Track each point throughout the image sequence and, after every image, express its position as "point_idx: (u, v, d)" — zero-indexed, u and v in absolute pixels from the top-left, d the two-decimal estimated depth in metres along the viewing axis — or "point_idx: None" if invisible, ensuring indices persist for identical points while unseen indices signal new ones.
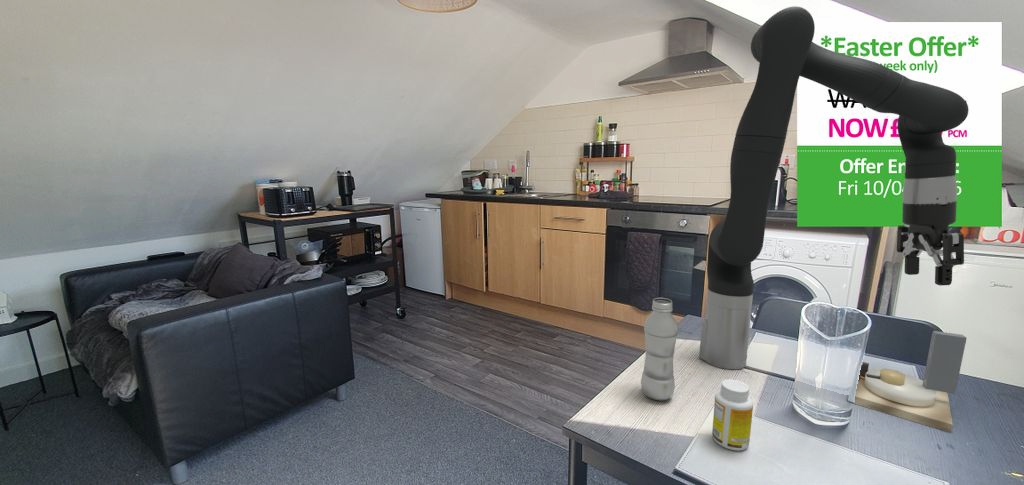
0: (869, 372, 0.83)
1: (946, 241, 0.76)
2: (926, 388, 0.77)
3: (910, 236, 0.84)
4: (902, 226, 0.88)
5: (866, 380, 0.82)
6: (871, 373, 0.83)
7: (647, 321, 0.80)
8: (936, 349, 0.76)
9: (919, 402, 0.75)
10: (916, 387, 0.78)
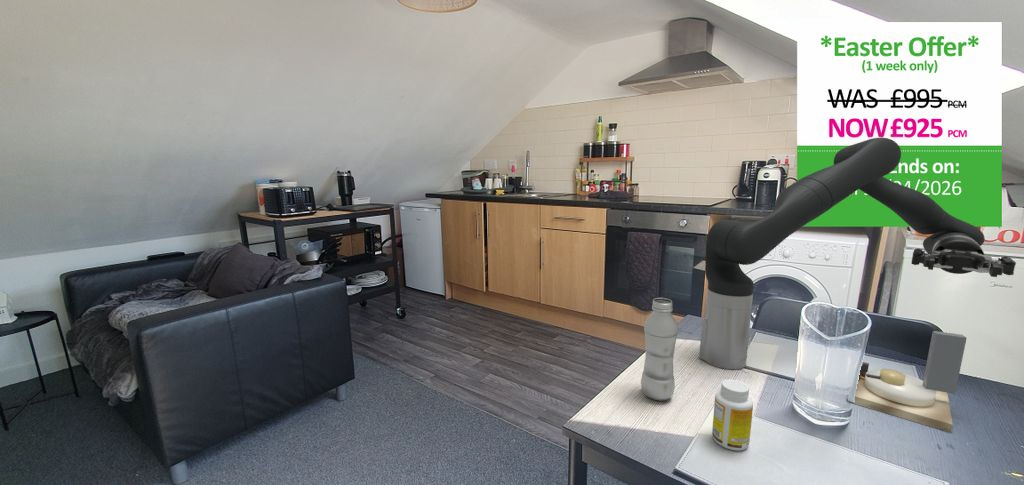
0: (869, 372, 0.83)
1: (1008, 258, 0.81)
2: (926, 388, 0.77)
3: (949, 249, 0.87)
4: None
5: (866, 380, 0.82)
6: (871, 373, 0.83)
7: (647, 321, 0.80)
8: (936, 349, 0.76)
9: (919, 402, 0.75)
10: (916, 387, 0.78)
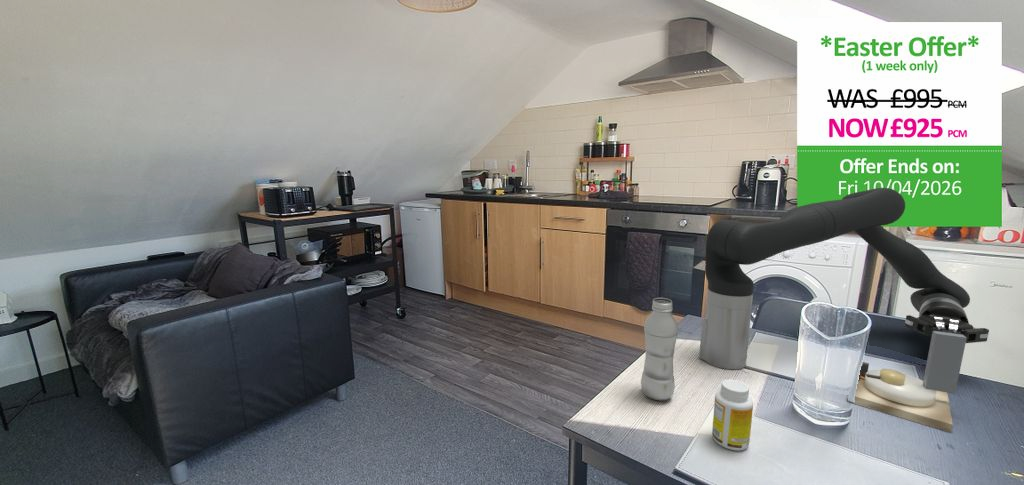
0: (869, 372, 0.83)
1: (983, 329, 0.84)
2: (926, 388, 0.77)
3: (936, 316, 0.90)
4: None
5: (866, 380, 0.82)
6: (871, 373, 0.83)
7: (647, 321, 0.80)
8: (936, 349, 0.76)
9: (919, 402, 0.75)
10: (916, 387, 0.78)
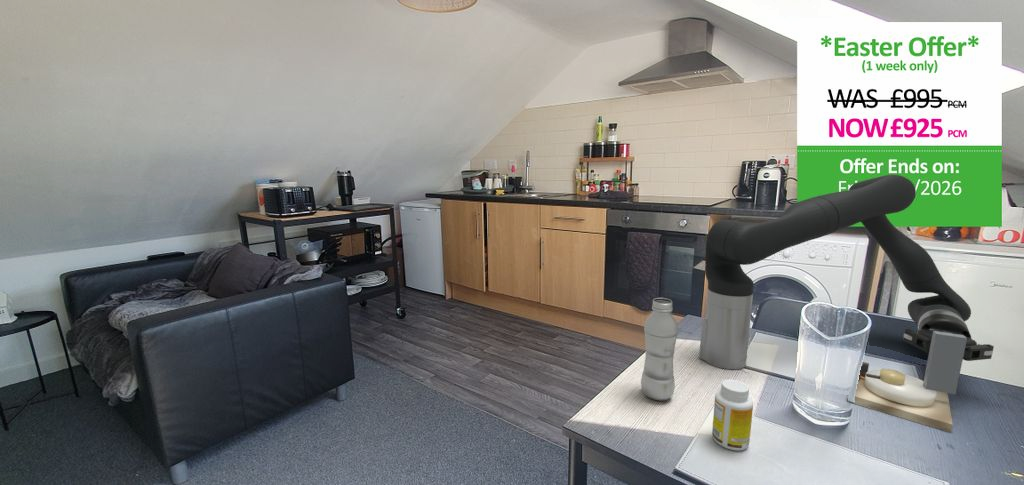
0: (869, 372, 0.83)
1: (987, 346, 0.78)
2: (927, 388, 0.77)
3: (937, 330, 0.83)
4: None
5: (866, 380, 0.82)
6: (872, 373, 0.83)
7: (647, 321, 0.80)
8: (936, 349, 0.75)
9: (918, 402, 0.75)
10: (916, 387, 0.78)
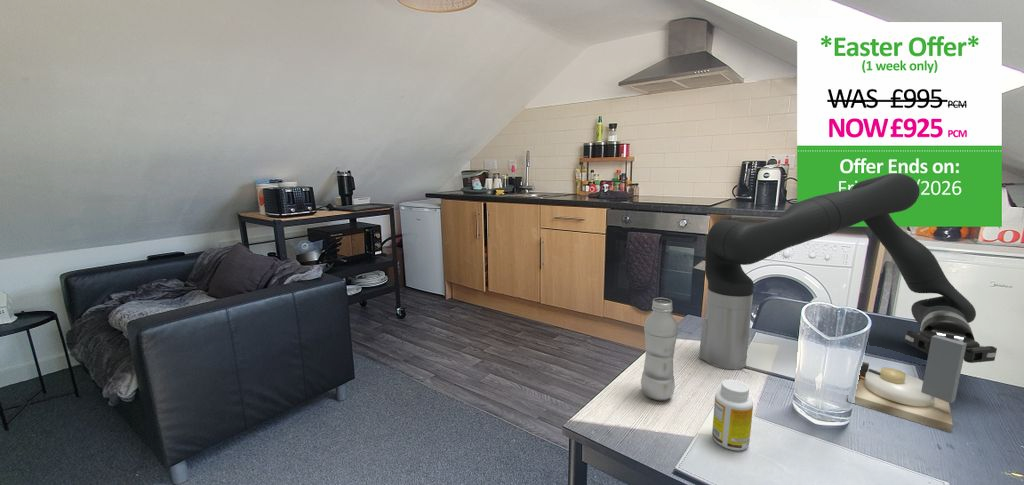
0: (880, 370, 0.84)
1: (990, 348, 0.77)
2: (923, 392, 0.76)
3: (939, 332, 0.82)
4: None
5: None
6: (881, 371, 0.84)
7: (647, 321, 0.80)
8: (932, 352, 0.74)
9: (896, 398, 0.76)
10: (911, 388, 0.77)
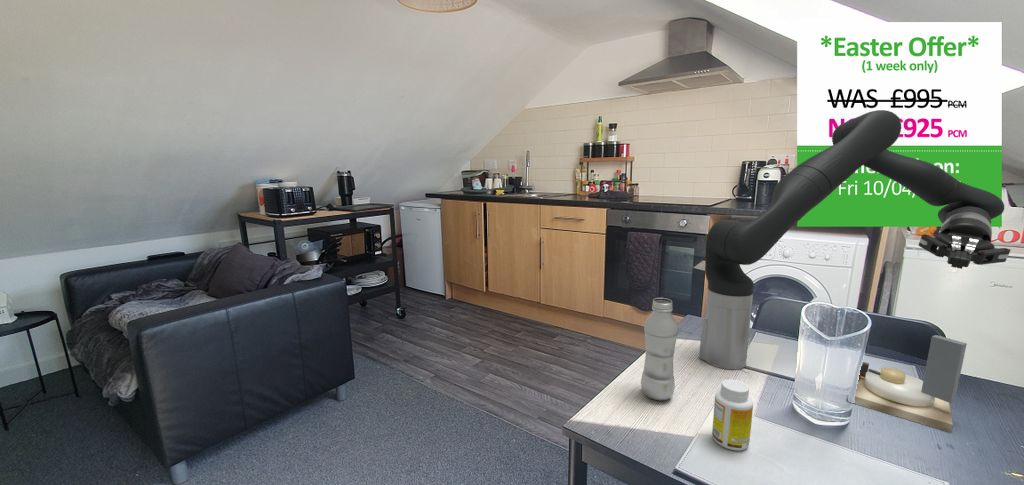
0: (880, 370, 0.84)
1: (1003, 250, 0.78)
2: (923, 392, 0.76)
3: (955, 235, 0.83)
4: None
5: None
6: (881, 371, 0.84)
7: (647, 321, 0.80)
8: (932, 352, 0.74)
9: (896, 398, 0.76)
10: (911, 388, 0.77)
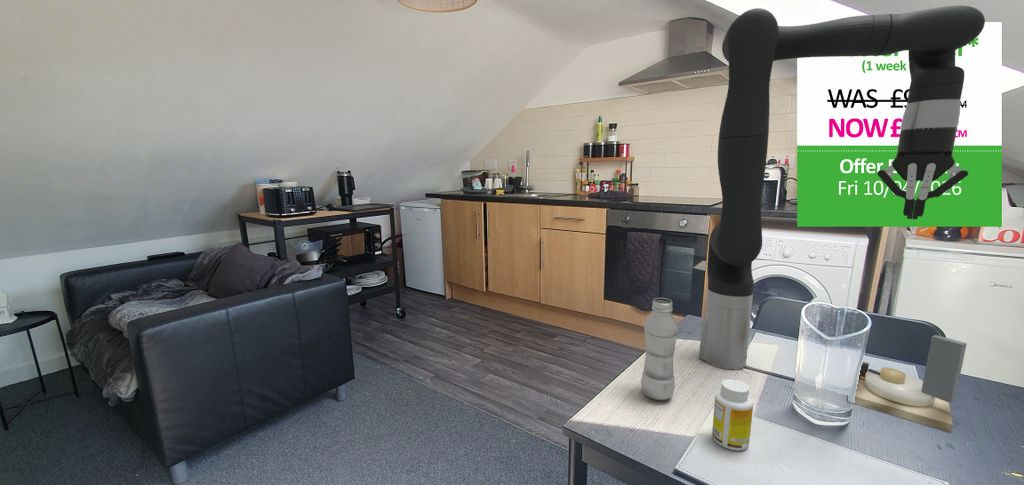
0: (880, 370, 0.84)
1: (960, 177, 0.74)
2: (923, 392, 0.76)
3: (911, 168, 0.78)
4: (881, 170, 0.82)
5: None
6: (881, 371, 0.84)
7: (647, 321, 0.80)
8: (932, 352, 0.74)
9: (896, 398, 0.76)
10: (911, 388, 0.77)
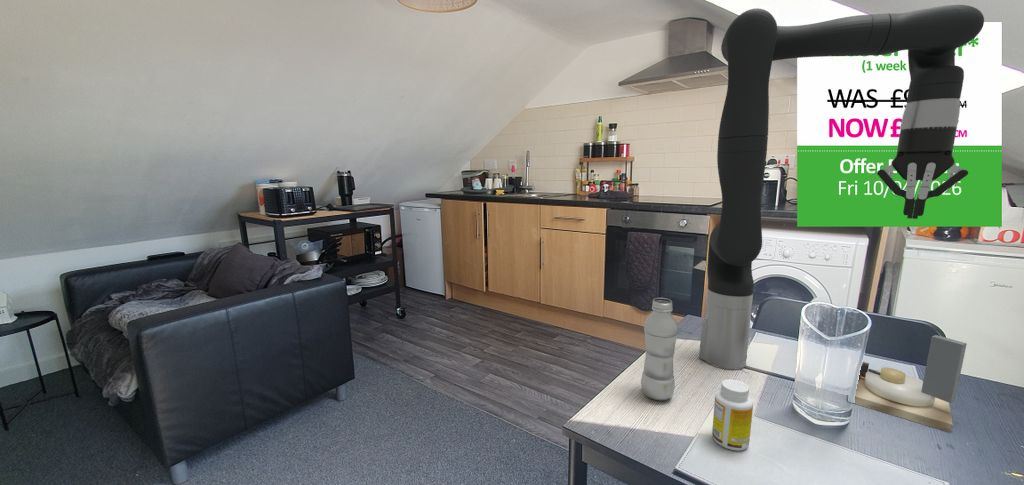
0: (880, 370, 0.84)
1: (960, 177, 0.74)
2: (923, 392, 0.76)
3: (910, 167, 0.78)
4: None
5: None
6: (881, 371, 0.84)
7: (647, 321, 0.80)
8: (932, 352, 0.74)
9: (896, 398, 0.76)
10: (911, 388, 0.77)
